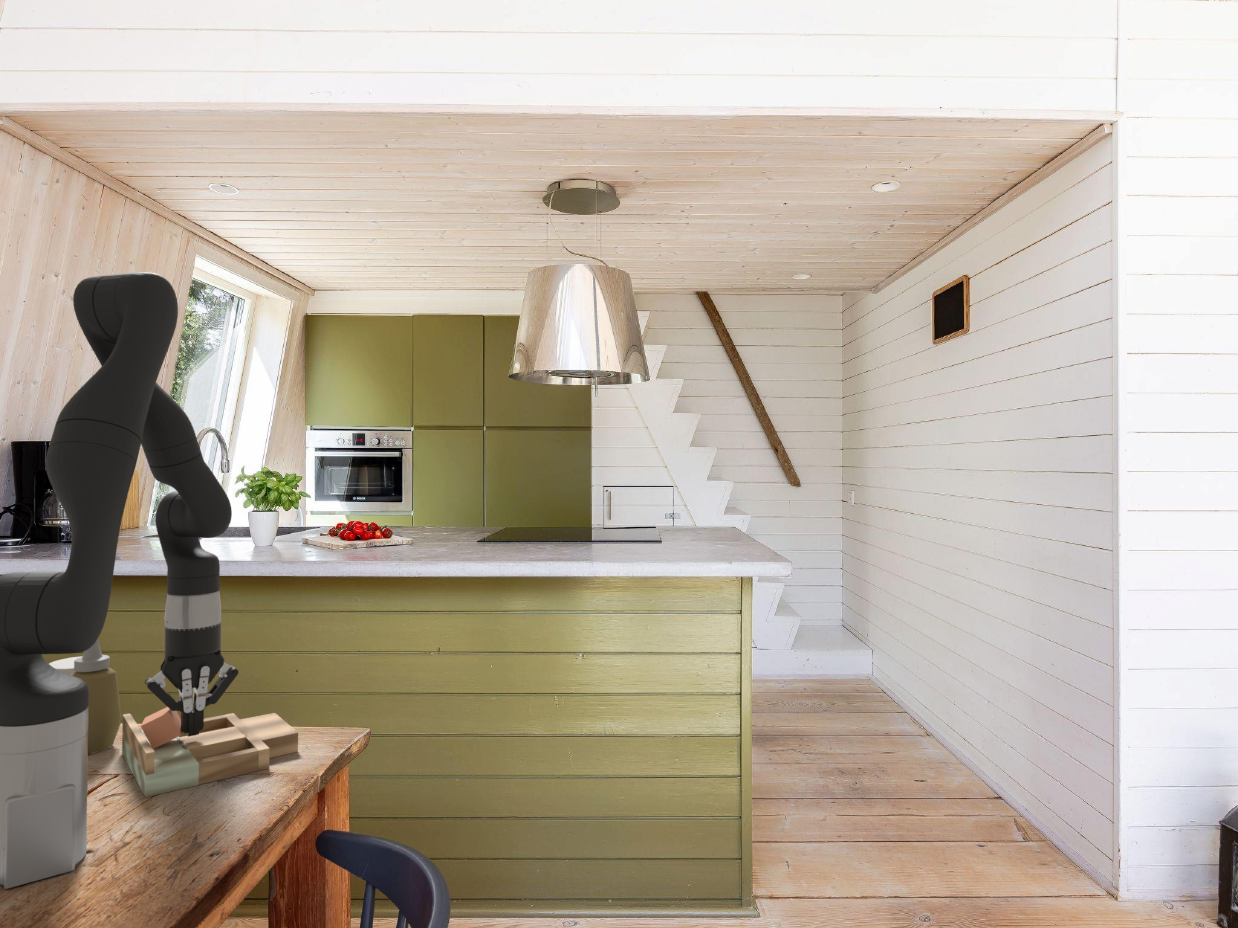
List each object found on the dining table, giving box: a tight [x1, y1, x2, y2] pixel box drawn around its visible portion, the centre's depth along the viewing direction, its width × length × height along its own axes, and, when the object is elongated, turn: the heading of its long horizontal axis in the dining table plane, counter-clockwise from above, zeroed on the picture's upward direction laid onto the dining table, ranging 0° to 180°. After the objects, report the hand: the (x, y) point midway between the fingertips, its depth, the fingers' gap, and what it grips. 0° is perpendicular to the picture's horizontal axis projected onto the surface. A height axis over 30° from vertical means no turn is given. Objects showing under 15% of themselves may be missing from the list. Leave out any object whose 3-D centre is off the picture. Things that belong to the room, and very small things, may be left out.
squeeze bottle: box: [70, 638, 123, 754], centre depth 121 cm, size 8×8×18 cm
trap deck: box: [121, 712, 299, 798], centre depth 119 cm, size 20×22×6 cm
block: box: [140, 706, 183, 749], centre depth 116 cm, size 4×4×4 cm
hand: (192, 733), depth 117 cm, fingers closed
